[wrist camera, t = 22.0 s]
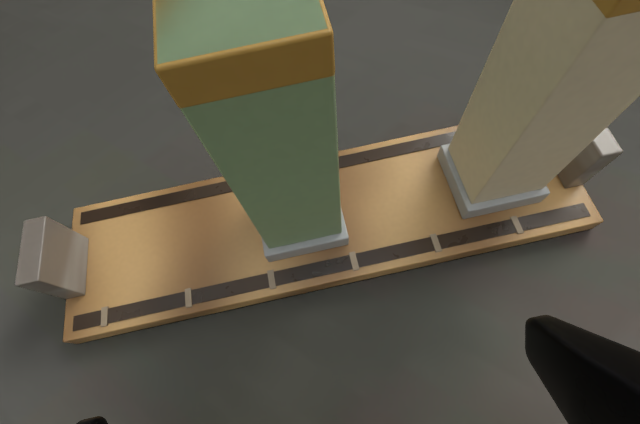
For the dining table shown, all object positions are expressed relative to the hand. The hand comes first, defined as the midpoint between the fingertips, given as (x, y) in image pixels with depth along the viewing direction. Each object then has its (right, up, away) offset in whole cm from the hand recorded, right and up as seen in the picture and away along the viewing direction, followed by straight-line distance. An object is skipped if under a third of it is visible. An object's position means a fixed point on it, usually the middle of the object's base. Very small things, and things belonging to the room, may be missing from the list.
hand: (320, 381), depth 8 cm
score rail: (-1, +3, +12) cm, 12 cm away
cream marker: (+9, +5, +12) cm, 16 cm away
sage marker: (-1, +3, +12) cm, 12 cm away
